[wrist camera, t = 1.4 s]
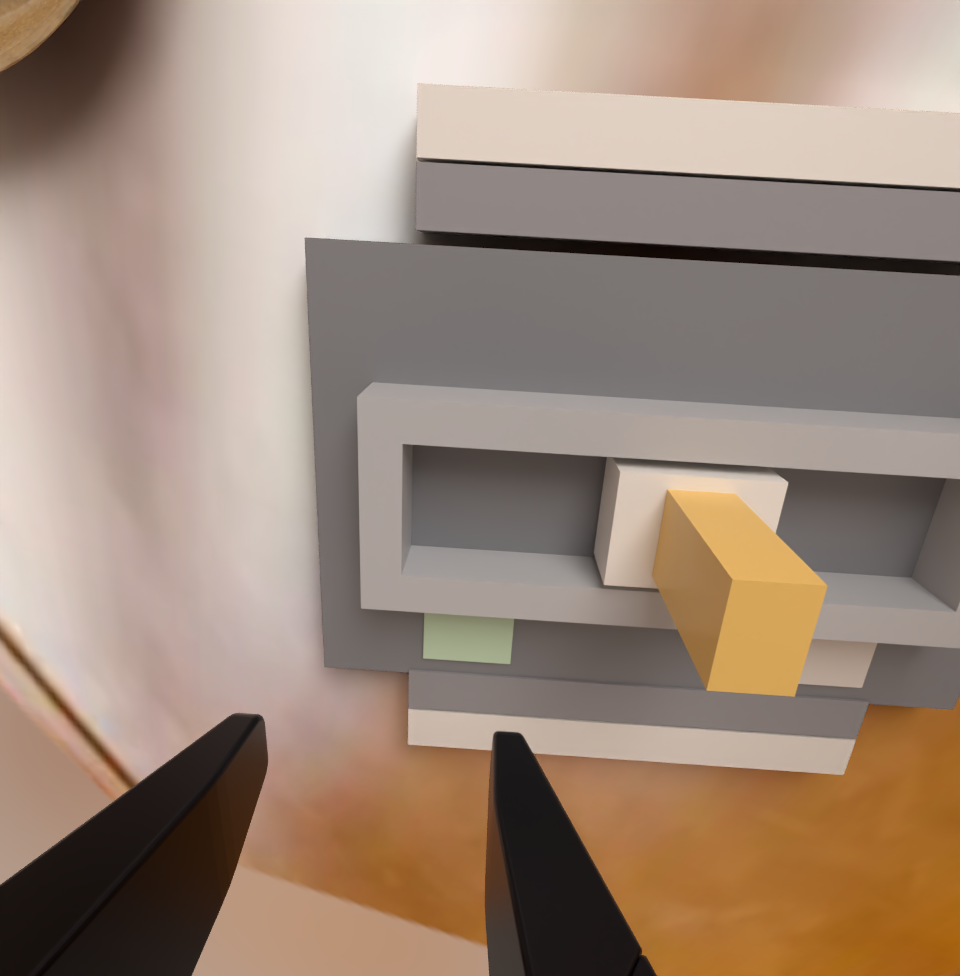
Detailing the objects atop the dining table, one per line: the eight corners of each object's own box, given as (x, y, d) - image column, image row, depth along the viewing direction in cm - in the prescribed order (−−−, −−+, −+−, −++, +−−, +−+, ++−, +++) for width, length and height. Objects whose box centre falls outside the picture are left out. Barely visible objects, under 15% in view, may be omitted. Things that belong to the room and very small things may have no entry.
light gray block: (844, 672, 22) (869, 702, 21) (821, 741, 23) (843, 774, 22) (415, 643, 22) (408, 671, 21) (413, 713, 24) (407, 744, 22)
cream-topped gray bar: (1023, 132, 16) (1077, 119, 14) (979, 264, 17) (1025, 265, 16) (425, 99, 16) (417, 83, 15) (422, 232, 17) (415, 229, 16)
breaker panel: (1080, 283, 17) (1216, 289, 14) (925, 681, 22) (997, 754, 19) (320, 239, 17) (278, 234, 14) (335, 641, 22) (307, 706, 19)
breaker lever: (758, 459, 18) (903, 572, 11) (734, 561, 19) (853, 716, 12) (607, 449, 18) (667, 556, 11) (593, 552, 19) (639, 701, 12)
